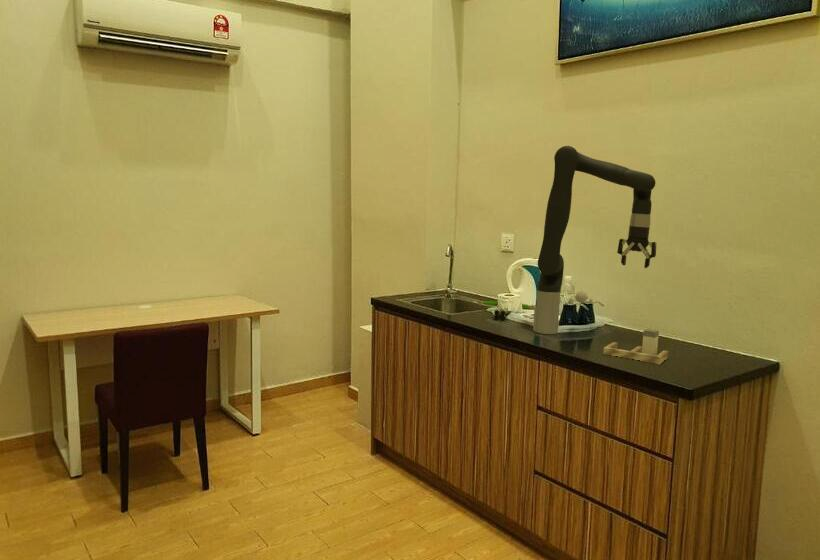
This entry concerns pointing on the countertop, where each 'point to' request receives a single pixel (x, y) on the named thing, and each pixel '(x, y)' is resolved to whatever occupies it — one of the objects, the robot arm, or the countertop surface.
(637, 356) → the comb rack
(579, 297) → the toy
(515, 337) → the countertop surface
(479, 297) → the countertop surface
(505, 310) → the figurine
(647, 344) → the cream lidded container
